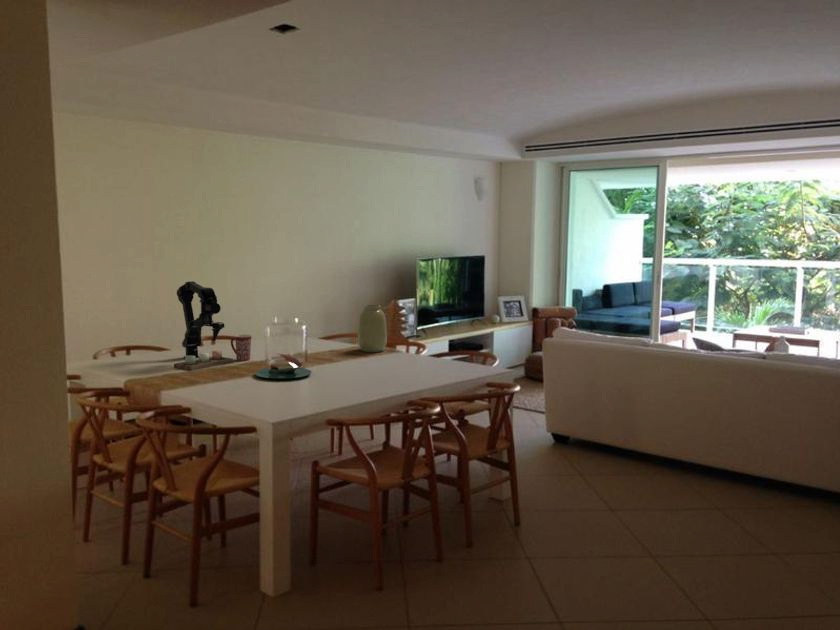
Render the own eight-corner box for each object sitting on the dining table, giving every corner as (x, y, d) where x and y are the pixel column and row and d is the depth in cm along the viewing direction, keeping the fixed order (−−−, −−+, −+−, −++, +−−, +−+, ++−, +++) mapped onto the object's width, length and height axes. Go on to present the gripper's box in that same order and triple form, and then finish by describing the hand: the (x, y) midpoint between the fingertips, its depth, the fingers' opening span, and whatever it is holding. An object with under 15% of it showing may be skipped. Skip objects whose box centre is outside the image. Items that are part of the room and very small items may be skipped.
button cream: (197, 361, 388) (197, 353, 388) (204, 359, 392) (204, 352, 392) (203, 362, 386) (203, 354, 385) (211, 361, 390) (210, 353, 389)
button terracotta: (210, 358, 396) (210, 351, 395) (217, 357, 400) (217, 350, 400) (216, 359, 393) (216, 352, 393) (223, 358, 397) (223, 351, 397)
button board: (173, 367, 381) (173, 363, 381) (215, 359, 405) (215, 355, 405) (192, 370, 374) (192, 366, 374) (233, 362, 397) (233, 358, 397)
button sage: (183, 363, 381) (183, 356, 380) (191, 362, 385) (190, 355, 384) (190, 365, 378) (189, 357, 378) (197, 363, 382) (197, 356, 382)
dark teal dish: (312, 381, 354) (312, 358, 353) (252, 382, 350) (252, 359, 348) (311, 369, 382) (311, 348, 380) (256, 370, 377) (255, 349, 376)
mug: (255, 359, 407) (255, 335, 406) (244, 361, 399) (244, 337, 398) (237, 357, 413) (237, 333, 411) (226, 359, 405) (226, 335, 403)
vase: (385, 352, 433) (386, 307, 430) (356, 352, 433) (356, 307, 430) (387, 348, 450) (387, 304, 447) (359, 347, 451) (359, 303, 447)
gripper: (182, 312, 388) (182, 341, 390) (212, 314, 382) (213, 344, 385) (195, 309, 399) (195, 337, 401) (224, 312, 393) (225, 340, 395)
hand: (206, 340), depth 395 cm, fingers open, 9 cm apart
